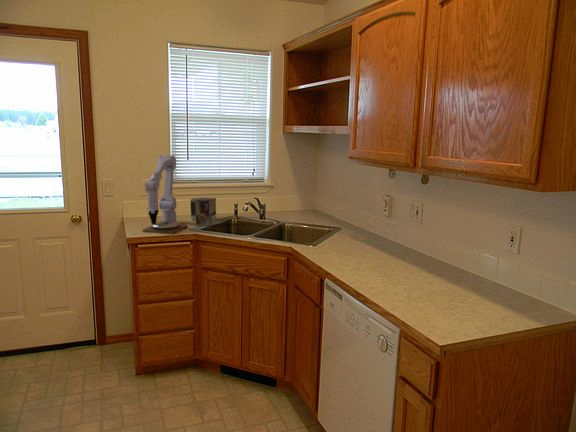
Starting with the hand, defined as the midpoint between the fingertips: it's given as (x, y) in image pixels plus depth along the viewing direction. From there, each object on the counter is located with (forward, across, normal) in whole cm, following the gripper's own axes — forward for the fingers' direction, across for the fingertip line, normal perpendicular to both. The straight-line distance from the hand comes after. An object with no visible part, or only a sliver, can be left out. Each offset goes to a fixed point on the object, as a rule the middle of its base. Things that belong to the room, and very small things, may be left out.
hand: (154, 223), depth 275 cm
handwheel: (+2, 0, +7) cm, 7 cm away
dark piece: (+5, -29, +31) cm, 43 cm away
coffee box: (+5, -9, +30) cm, 32 cm away
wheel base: (+4, 0, +7) cm, 8 cm away
